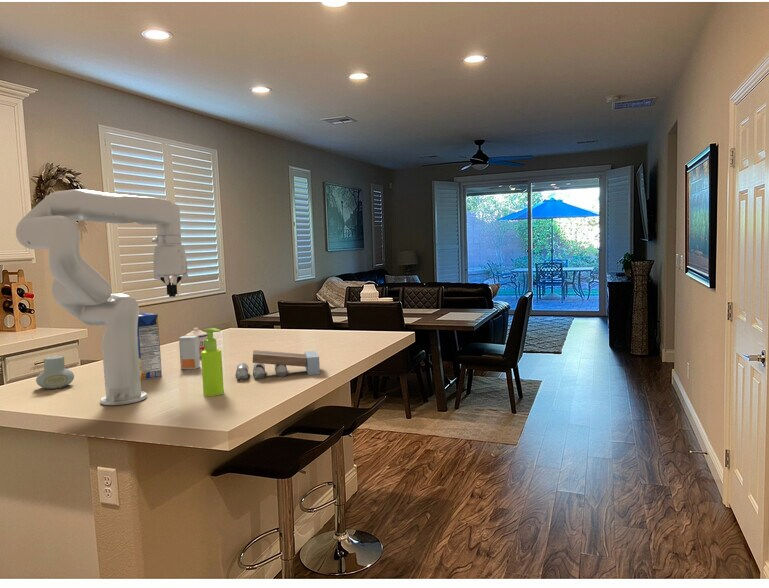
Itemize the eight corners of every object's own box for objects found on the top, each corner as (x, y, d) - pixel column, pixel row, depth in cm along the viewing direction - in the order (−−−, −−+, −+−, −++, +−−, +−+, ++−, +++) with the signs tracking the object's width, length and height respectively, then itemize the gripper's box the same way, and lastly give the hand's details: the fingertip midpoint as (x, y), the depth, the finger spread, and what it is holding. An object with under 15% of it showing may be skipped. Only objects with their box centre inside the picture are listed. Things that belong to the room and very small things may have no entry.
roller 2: (273, 368, 188) (278, 379, 188) (284, 363, 188) (289, 374, 189) (272, 362, 198) (277, 372, 199) (283, 357, 199) (287, 367, 200)
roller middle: (252, 379, 186) (264, 379, 187) (253, 367, 186) (265, 368, 187) (252, 372, 197) (264, 373, 198) (253, 361, 197) (265, 361, 198)
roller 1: (234, 379, 185) (245, 382, 186) (237, 367, 185) (249, 370, 186) (235, 372, 196) (246, 375, 197) (238, 361, 196) (249, 364, 197)
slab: (305, 366, 192) (306, 358, 192) (252, 362, 187) (253, 354, 187) (303, 362, 199) (304, 354, 199) (252, 358, 195) (253, 350, 195)
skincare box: (180, 369, 207) (178, 337, 206) (184, 367, 212) (182, 335, 211) (196, 369, 207) (194, 337, 206) (200, 366, 211) (198, 335, 210)
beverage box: (142, 379, 192) (137, 316, 190) (131, 375, 200) (127, 314, 199) (162, 376, 197) (157, 314, 195) (150, 371, 205) (146, 312, 203)
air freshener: (36, 392, 179) (34, 361, 179) (36, 387, 186) (34, 357, 186) (75, 386, 185) (73, 357, 184) (74, 382, 192) (71, 353, 191)
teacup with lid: (194, 358, 229) (192, 330, 228) (182, 356, 235) (180, 328, 234) (219, 353, 239) (217, 326, 238) (206, 351, 244) (205, 325, 243)
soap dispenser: (215, 397, 165) (210, 330, 163) (199, 394, 168) (195, 329, 167) (230, 392, 170) (226, 327, 168) (214, 390, 173) (210, 326, 172)
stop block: (319, 374, 191) (319, 356, 190) (308, 375, 190) (307, 357, 190) (316, 367, 203) (315, 350, 202) (305, 368, 202) (304, 351, 201)
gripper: (142, 241, 179) (145, 298, 180) (191, 240, 182) (194, 296, 183) (147, 242, 186) (150, 297, 187) (194, 241, 189) (197, 295, 190)
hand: (172, 296), depth 185 cm, fingers closed
